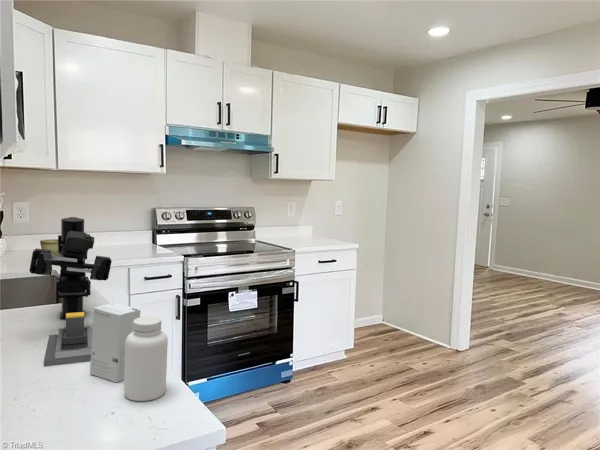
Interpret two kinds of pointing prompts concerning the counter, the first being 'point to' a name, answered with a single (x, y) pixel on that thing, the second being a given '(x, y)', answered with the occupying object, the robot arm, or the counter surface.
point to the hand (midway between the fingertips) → (71, 275)
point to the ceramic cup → (50, 246)
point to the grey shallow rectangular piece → (67, 349)
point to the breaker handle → (74, 329)
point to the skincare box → (111, 340)
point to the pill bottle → (145, 360)
